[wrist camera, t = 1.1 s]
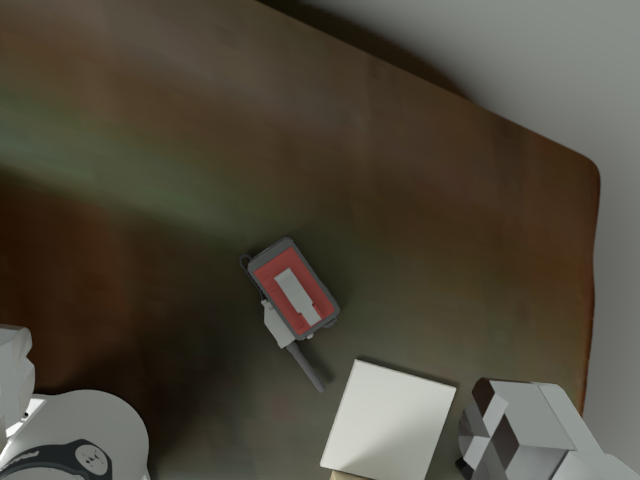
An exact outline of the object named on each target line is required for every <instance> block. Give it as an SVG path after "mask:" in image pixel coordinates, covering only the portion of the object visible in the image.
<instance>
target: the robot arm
mask: <svg viewBox="0 0 640 480" xmlns="http://www.w3.org/2000/svg"><path fill="white" fill-rule="evenodd" d="M31 347H32V341H31V334H30V330H28V329H27V328H25V327H19V326H12V325H4V324H0V480H150V476H149V473H148V470H147V458H148V451H149V440H148V434H147V430H146V428H145V425H144V423H143V421H142V419H141V418H140V416H139V415H138V413H137V412H136V411H135V410H134V409H133V408H132V407H131V406H130V405H129V404H128V403H126V402H125V401H123V400H122V399H120V398H118V397H116V396H114V395H112V394H109V393H106V392H102V391H96V390H77V391H72V392H68V393H64V394H60V395H54V396H51V395H42V394H32V393H33V390H34V382H35V370H34V365H33V364H32V363H31V362H30V361H29V360H28V359H27V358H26V357H25V356H26V355H27V353H28V352H29V350H30V349H31ZM472 394H473V397H474V399H475V402H474V403H472V404H471V405H469V406H468V407H466V408H465V409H464V411H463V413H462V416H461V418H460V421H459V430H458V439H459V446H460V450H461V453H462V456H463V459H464V460H465V461H466V462H467V463H468V464H469V465H470V466H471V467H472V468H473V469H474V470H475V471H474V474H473V476H472V479H471V480H640V476H639V475H638V474H637V473H635V472H634V471H633V470H631V469H630V468H629V467H627V466H626V465H625V464H623V463H622V462H621V461H620V460H618V459H617V458H616V457H614V456H613V455H609V454H604V453H603V452H602V450H601V448H600V447H599V445H598V443H597V442H596V440H595V439H594V437H593V436H592V434H591V432H590V431H589V430H588V428H587V426H586V425H585V423H584V421H583V420H582V418H581V417H580V415H579V414H578V412H577V410H576V409H575V407H574V406H573V404H572V403H571V401H570V399H569V398H568V396H567V395H566V393H565V392H564V390H563V389H562V388H561V387H559V386H558V385H557V384H549V383H538V382H523V381H513V380H503V379H494V378H484V377H482V378H480V379H479V380H478V381H477V382H476V384H475V386H474V388H473V390H472ZM25 412H27V413H28V416H25V415H24V414H25Z"/></svg>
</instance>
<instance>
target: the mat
mask: <svg viewBox="0 0 640 480" xmlns="http://www.w3.org/2000/svg"><path fill="white" fill-rule="evenodd" d="M455 391H456V388H455V387H453V386H449V385H446V384H442V383H439V382H435V381H432V380H428V379H425V378H421V377H417V376H414V375H410V374H407V373H403V372H400V371H396V370H393V369H389V368H386V367H382V366H378V365H375V364H371V363H368V362H364V361H361V360H357V359H355V362H354V365H353V368H352V370H351V373H350V376H349V379H348V382H347V385H346V388H345V391H344V394H343V397H342V400H341V403H340V406H339V409H338V412H337V415H336V418H335V420H334V423H333V426H332V429H331V432H330V435H329V438H328V441H327V444H326V447H325V450H324V453H323V456H322V459H321V462H320V466H322V467H326V468H331V469H335V470H339V471H343V472H347V473H351V474H355V475H359V476H363V477H367V478H371V479H375V480H424V478H425V475H426V473H427V470H428V467H429V464H430V461H431V459H432V456H433V453H434V450H435V447H436V445H437V442H438V439H439V436H440V433H441V431H442V428H443V425H444V422H445V419H446V417H447V414H448V411H449V408H450V405H451V403H452V400H453V397H454V394H455Z"/></svg>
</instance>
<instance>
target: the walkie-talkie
mask: <svg viewBox="0 0 640 480" xmlns="http://www.w3.org/2000/svg"><path fill="white" fill-rule="evenodd" d="M244 257H248V258H249V259H250V260H249V262H248V269H247V268H246V266H245V265H244V263H243V261H242V259H243V258H244ZM239 263H240V265H241V267H242V268H243V270H244V271H245V272H246V274H247V275H248V277H249V278H250V279H251V281H252V282H253V283H254V285H255V286H256V288H257V289H258V291H259V292H260V298H261V303H262V304H263V306H264V307H265V309H264V323H265V325H266V326H267V328H268V329H269V330H270V332H271V333H272V335H273V336H274V337H275V339H276V340H277V342H278V345H279V346H280V348H283V347H286V349H287V350H288V351H289V353H291V354H292V355H293V356H294V358H295V359H296V360H297V362H298V363H299V365H300V366H301V367H302V369H303V370H304V372H305V373H306V374H307V376H308V377H309V378H310V380H311V381H312V383H313V384H314V385H315V387H316V388H317V390H318V391H319V392H324V391H325V389H326V387H325V385H324V384H323V382H322V381H321V380H320V378H319V377H318V375H317V374H316V373H315V371H314V370H313V368H312V367H311V366H310V364H309V363H308V361H307V360H306V359H305V357H304V356H303V354H302V353H301V352H300V350H299V349H298V346H297V344H296V343H295V341H294V340H295V339H296V340H300V341H301V340H303V339H305V338H306V337H307V338H308V339H310V338H312V337H313V332H315V331H316V330H318V329H319V328H320V327H322V326H323V327H324V328H328V327H330V326H332V325H333V324H334V323H335V322H336V321H337V317H336V316H337V315H338V314H339V313H340V308H339V307H338V303H337V301H336V300H335V298H334V297H333V296H331V295H330V293H329V289H328V288H327V287H326V285H325V284H323V283H322V282H321V280H320V279H319V278H318V276H317V275H316V273H315V272H314V270H313V269H312V267H311V266H310V265H309V263H308V262H307V260H306V259H305V257H304V256H303V254H302V253H301V252H300V250H299V249H298V247H297V246H296V245H295V243H294V241H293V240H292V238H289V237H282V238H281V239H280V240H278V241H277V242H275V243H274V244H272V245H271V246H269V247H268V248H266V249H265V250H263V251H262V252H260V253H259V254H258V255H256V256H255V257H253V258H252V256H251V255H249V254H247V253H245V254H242V255H241V256H240V257H239ZM315 275H316V276H315ZM263 294H265V297H267V298H268V299H266V298H264V296H263Z"/></svg>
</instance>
